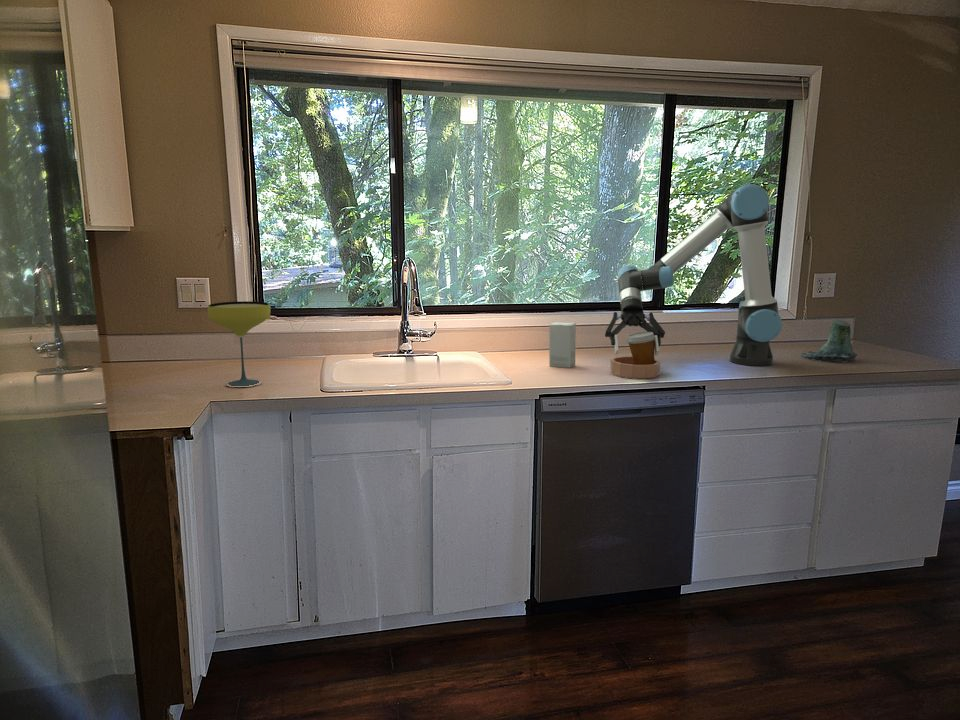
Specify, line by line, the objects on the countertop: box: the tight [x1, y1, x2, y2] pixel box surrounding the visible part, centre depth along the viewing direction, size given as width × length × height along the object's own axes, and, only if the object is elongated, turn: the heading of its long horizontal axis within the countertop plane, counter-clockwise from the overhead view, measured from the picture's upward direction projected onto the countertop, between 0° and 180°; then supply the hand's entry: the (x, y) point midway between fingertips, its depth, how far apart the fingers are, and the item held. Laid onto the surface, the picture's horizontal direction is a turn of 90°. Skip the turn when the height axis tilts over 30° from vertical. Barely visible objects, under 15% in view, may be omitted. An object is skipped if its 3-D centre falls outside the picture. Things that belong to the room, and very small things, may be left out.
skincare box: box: [548, 321, 577, 369], centre depth 240 cm, size 8×7×16 cm
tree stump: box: [800, 319, 858, 363], centre depth 258 cm, size 18×20×18 cm
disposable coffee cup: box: [626, 331, 655, 365], centre depth 229 cm, size 10×10×12 cm
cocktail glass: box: [207, 300, 271, 386], centre depth 206 cm, size 18×18×25 cm
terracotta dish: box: [609, 355, 661, 380], centre depth 229 cm, size 16×16×4 cm
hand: (637, 352), depth 226 cm, fingers open, 13 cm apart
